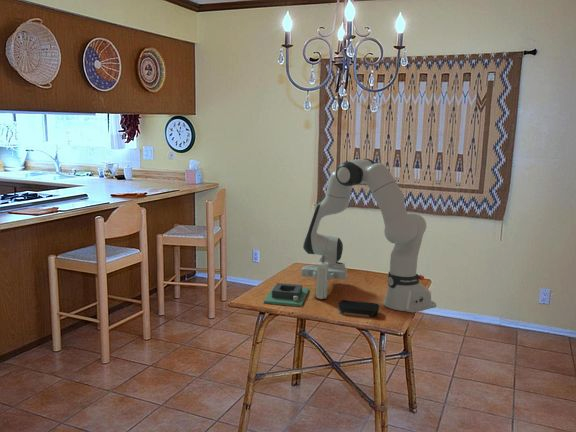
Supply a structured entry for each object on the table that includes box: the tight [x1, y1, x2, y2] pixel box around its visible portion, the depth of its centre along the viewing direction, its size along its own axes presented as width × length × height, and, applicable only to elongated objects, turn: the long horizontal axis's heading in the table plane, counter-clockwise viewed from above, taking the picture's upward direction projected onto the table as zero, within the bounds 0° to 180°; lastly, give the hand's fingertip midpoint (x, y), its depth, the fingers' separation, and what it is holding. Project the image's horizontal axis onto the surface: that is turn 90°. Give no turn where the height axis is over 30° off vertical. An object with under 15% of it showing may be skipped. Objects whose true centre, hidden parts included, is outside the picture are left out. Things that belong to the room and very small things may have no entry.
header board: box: [263, 282, 310, 307], centre depth 229 cm, size 22×16×4 cm
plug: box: [315, 255, 329, 300], centre depth 226 cm, size 5×4×18 cm
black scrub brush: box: [337, 299, 380, 319], centre depth 212 cm, size 16×8×4 cm, turn 76°
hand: (322, 277), depth 226 cm, fingers closed on plug, 4 cm apart
